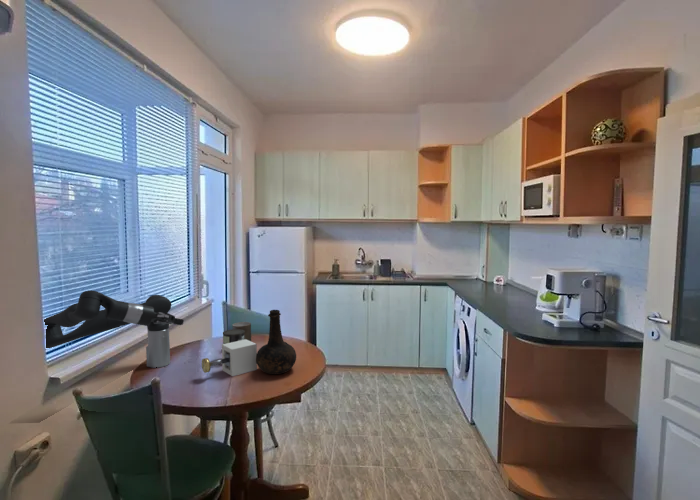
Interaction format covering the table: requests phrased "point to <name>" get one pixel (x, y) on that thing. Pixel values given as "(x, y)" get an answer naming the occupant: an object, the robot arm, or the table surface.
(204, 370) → the plunger
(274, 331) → the antique onion bottle
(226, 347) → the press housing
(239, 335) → the coffee can
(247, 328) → the pillar candle
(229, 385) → the table surface
